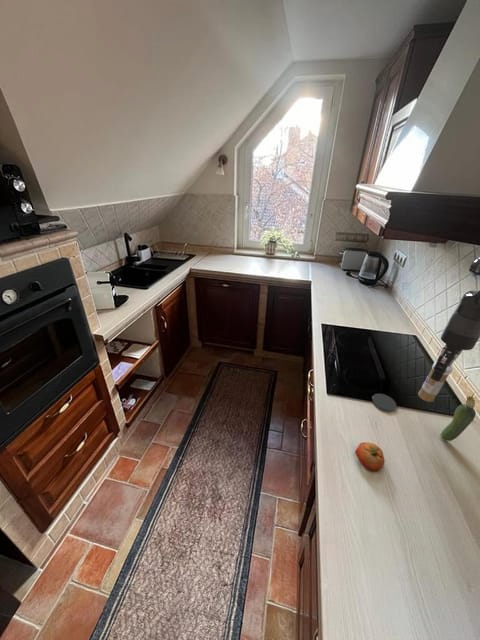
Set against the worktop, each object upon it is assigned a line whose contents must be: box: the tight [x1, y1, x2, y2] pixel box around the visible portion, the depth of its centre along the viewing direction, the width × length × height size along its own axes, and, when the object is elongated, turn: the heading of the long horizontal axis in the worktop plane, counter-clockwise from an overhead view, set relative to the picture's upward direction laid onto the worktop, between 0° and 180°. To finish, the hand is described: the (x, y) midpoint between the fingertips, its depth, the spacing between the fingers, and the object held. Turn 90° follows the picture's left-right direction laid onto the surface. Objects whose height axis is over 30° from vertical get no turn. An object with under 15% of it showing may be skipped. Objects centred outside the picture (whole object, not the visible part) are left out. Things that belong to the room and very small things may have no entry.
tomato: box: [354, 442, 386, 473], centre depth 75 cm, size 8×7×7 cm
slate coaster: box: [371, 393, 397, 413], centre depth 94 cm, size 8×8×1 cm
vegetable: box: [439, 395, 477, 442], centre depth 76 cm, size 4×4×20 cm
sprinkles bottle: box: [417, 360, 453, 403], centre depth 79 cm, size 5×5×14 cm
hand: (437, 375), depth 78 cm, fingers closed on sprinkles bottle, 4 cm apart
